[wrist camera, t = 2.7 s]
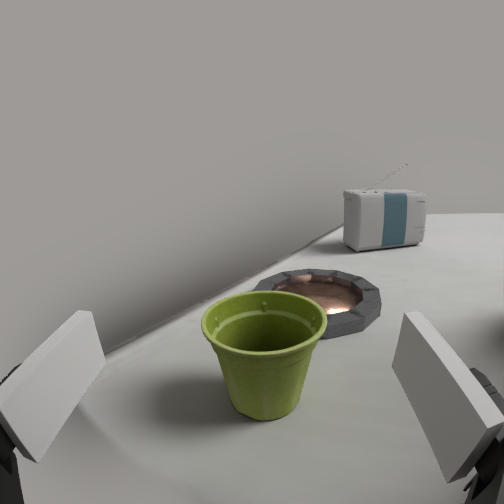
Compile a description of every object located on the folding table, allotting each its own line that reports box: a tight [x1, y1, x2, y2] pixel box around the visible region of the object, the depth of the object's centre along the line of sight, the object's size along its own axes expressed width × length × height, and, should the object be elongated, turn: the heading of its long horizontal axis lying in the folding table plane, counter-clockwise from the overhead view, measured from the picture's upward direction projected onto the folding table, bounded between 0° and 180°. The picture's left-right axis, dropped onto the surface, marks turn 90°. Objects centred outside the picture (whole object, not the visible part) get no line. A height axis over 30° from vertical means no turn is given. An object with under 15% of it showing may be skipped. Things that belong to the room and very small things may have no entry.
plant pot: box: [201, 291, 327, 420], centre depth 24 cm, size 9×9×9 cm
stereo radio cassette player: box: [343, 163, 427, 252], centre depth 66 cm, size 21×8×20 cm, turn 102°
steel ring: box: [252, 269, 382, 339], centre depth 42 cm, size 18×18×2 cm
